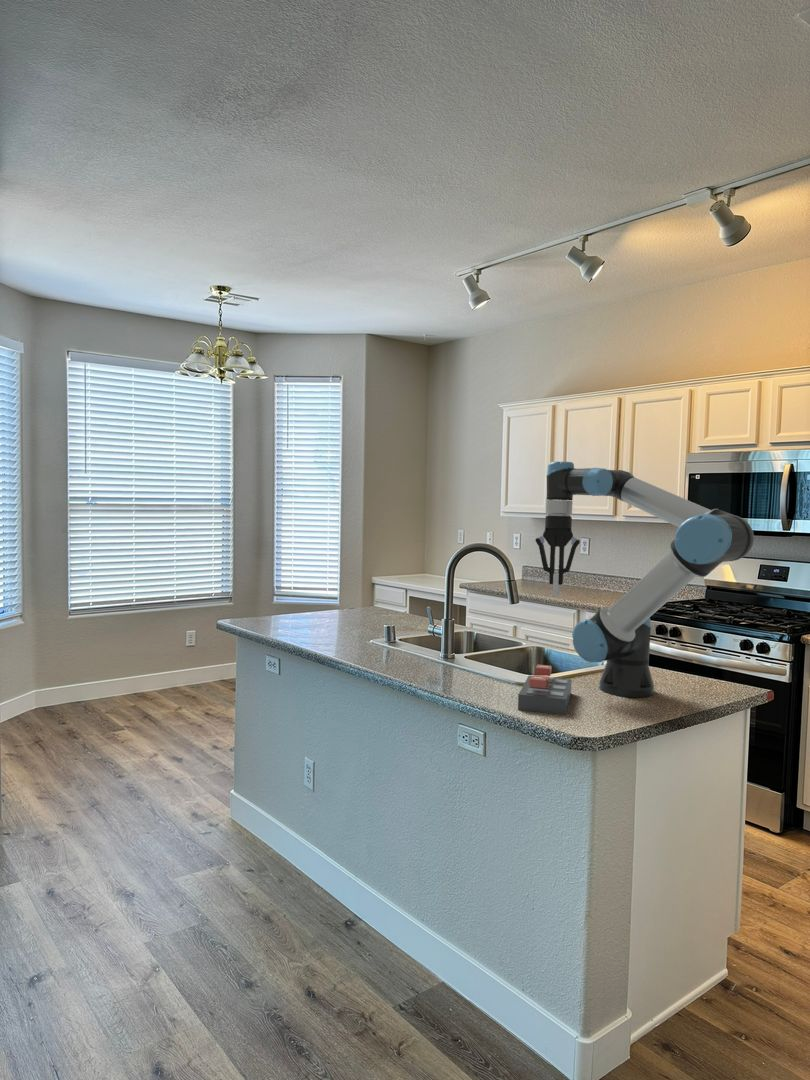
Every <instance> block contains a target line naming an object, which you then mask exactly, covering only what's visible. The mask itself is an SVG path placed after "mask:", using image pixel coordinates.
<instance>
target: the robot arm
mask: <svg viewBox="0 0 810 1080" xmlns="http://www.w3.org/2000/svg"><path fill="white" fill-rule="evenodd" d="M575 495H577V496H592V497H595V496H598V497H600V496H603V497H612V498H615V499H618V500H619V501H621V502H624V503H626V504H628V505H630V506H633V507H635V508H637V509H638V510H641V511H644V512H646V513H648V514H650V515H652V516H654V517H656V518H658V519H660V520H662V521H665V522H667V523H668V524H671V525H673V526H676V527H677V530H676V533H675V539H674V540H672V541H670V544H669V551H670V552H668V553H667V554H666V555H665V556H664V557H663V558H662V559H661V560H660V561H659V562H658V563H657V564H656V565H655V566H653V567H652V569H651V570H649V571H648V572H646V574H645V575H644V576H643V577H642V578H641V579H639V580H638V582H637V583H636V584H635V585H633V586H632V587H631V588H629V590H628V591H627V592H626V593H625V594H624V595H622V596H621V598H619V599H618V600H617V601H616V602H615V603H614V604H613V605H611V606H610V605H604V606H603V607H601V608H600V609H599V610H598V611H597V612H596V613H595V614H594V615H592V616H591V617H590V618H589V619H588V618H587V619H582V620H580V621H578V622H577V623H576V625H575V626H574V627H573V630H572V635H571V637H572V645H573V648H574V650H575V652H576V654H577V655H578V656H579V657H580V658H581V659H583V660H584V661H586V662H589V663H602V662H604V661H606V664H605V666H604V669H603V671H602V673H601V677H600V679H599V685H598V686H599V690H600V691H602V692H604V693H607V694H609V695H613V696H618V697H625V698H645V697H647V698H648V697H650V696H653V695H654V694H655V685H654V681H653V677H652V674H651V669H650V666H649V663H650V648H651V647H650V643H651V630H652V626H651V618H650V617H652V616H653V615H654V614H655V613H656V612H658V610H660V609H661V608H662V607H663V606H664V605H666V603H668V602H669V601H670V600H671V599H673V597H675V596H676V595H677V594H678V593H679V592H680V591H681V590H683V588H685V587H686V586H687V585H688V584H689V583H691V581H693V580H694V579H695V578H696V577H699V578H705V577H706V576H708V575H710V574H711V572H712V571H713V570H715V569H716V568H717V567H718V566H720V565H721V564H722V563H723V562H724V563H726V562H734V561H738V560H740V559H743V558H744V557H745V556H747V555H748V553H750V551H751V550H752V548H753V546H754V540H755V534H754V531H753V529H752V526H751V525H750V524H749V522H748V521H747V520H746V519H744V518H742V517H741V516H738V515H735V514H732V513H729V512H727V511H724V510H721V509H719V508H714V509H709V508H707V507H705V506H702V505H701V504H698V503H696V502H692V501H690V500H688V499H686V498H684V497H682V496H679V495H676V494H674V493H672V492H669V491H667V490H665V489H663V488H660V487H658V486H656V485H654V484H652V483H649V482H647V481H644V480H641V479H640V478H637V477H635V476H634V475H633V474H632V473H631V472H629V471H625V470H623V469H620V470H618V469H607V468H602V467H591V468H590V467H588V468H587V467H585V468H575V463H573V462H572V461H551V462H549V463H548V465H547V473H546V500H545V514H547V515H546V516H545V523H544V524H545V527H544V531H543V534H542V535H541V536H539V537H536V538H535V540H534V541H535V542H536V545H538V549H539V555H540V559H541V564H542V568H543V571H545V572H548V574H549V582H548V583H549V585H552V597H559V591H560V586H562V585H563V583H564V574H566V573H569V572H570V570H571V567H572V564H573V560H574V556H575V554H576V550H577V547H578V545H579V544H581V540H580V539H577V537H575V536H574V534H573V532H572V531H573V530H572V524H573V518H572V516H571V515H572V514H573V498H574V496H575ZM545 541H546V542H547V544H548V545H549V546H550V549H549V550H550V552H549V553H550V554H549V564H548V560H547V554H546V551H545V550H546V549H545V546H544V543H545ZM570 541H571V542H570ZM569 543H570V544H571V548H570V552H569V555H568V558H567V562H566V565H565V564H564V563H565V547H566V546H567V545H568V544H569ZM556 547H558V548H559V550H558V551H559V552H558V553H559V554H558V557H559V558H558V572H557V573H556V572H555V569H556V567H555V565H556V549H557V548H556ZM564 566H565V567H564Z"/></svg>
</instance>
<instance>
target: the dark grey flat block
mask: <svg viewBox="0 0 810 1080" xmlns="http://www.w3.org/2000/svg"><path fill="white" fill-rule="evenodd" d="M531 676H532V675H528V676H527V678H526V680H525V681H524V682H523V685H522V687H521V688H520V691H519V692H518V697H517V698H518V699H517V701H518V702H517V710H518V711H528V712H535V713H536V712H537V713H545V714H552V715H553V714H555V715H566V714H567V713H566V712H567V710H568V705H569V702H570V699H571V695H572V680H573V679H572V678H571V679H570V678H560V677H551V676H548V677H549V685H548V687H545V688H538V687H529V684H530V678H531Z"/></svg>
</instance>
